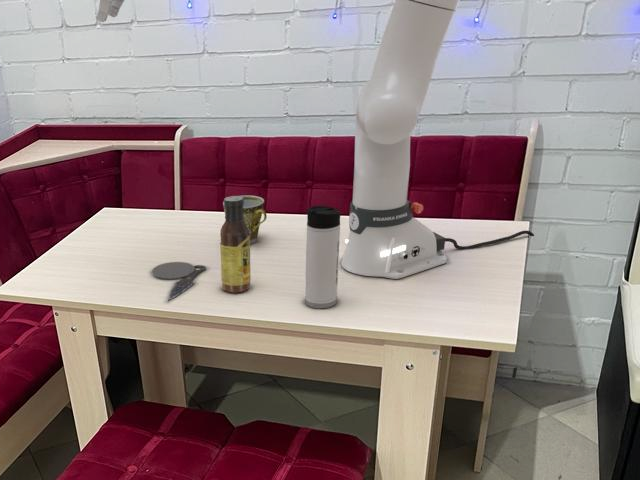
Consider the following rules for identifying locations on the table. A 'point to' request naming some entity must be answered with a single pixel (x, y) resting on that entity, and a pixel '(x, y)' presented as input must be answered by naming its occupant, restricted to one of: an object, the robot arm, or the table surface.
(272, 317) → the table surface
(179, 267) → the round mirror
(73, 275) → the table surface
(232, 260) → the sauce bottle
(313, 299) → the travel mug
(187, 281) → the throwing knife
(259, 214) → the ceramic cup
